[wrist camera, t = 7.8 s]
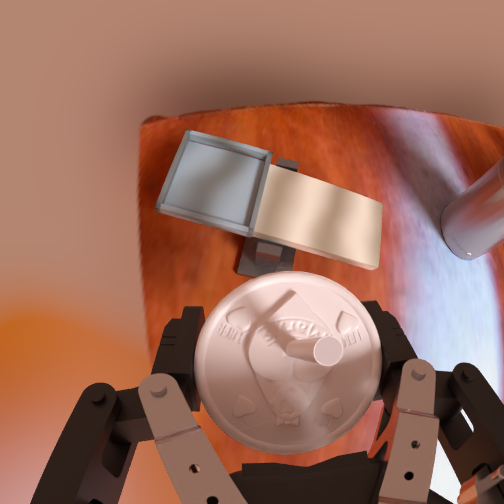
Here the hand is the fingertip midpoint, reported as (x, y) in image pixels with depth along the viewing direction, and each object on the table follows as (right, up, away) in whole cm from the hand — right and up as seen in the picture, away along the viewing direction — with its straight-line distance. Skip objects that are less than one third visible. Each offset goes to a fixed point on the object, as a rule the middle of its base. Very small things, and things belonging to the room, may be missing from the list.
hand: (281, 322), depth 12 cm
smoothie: (0, -4, +6) cm, 7 cm away
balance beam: (+2, +8, +20) cm, 21 cm away
